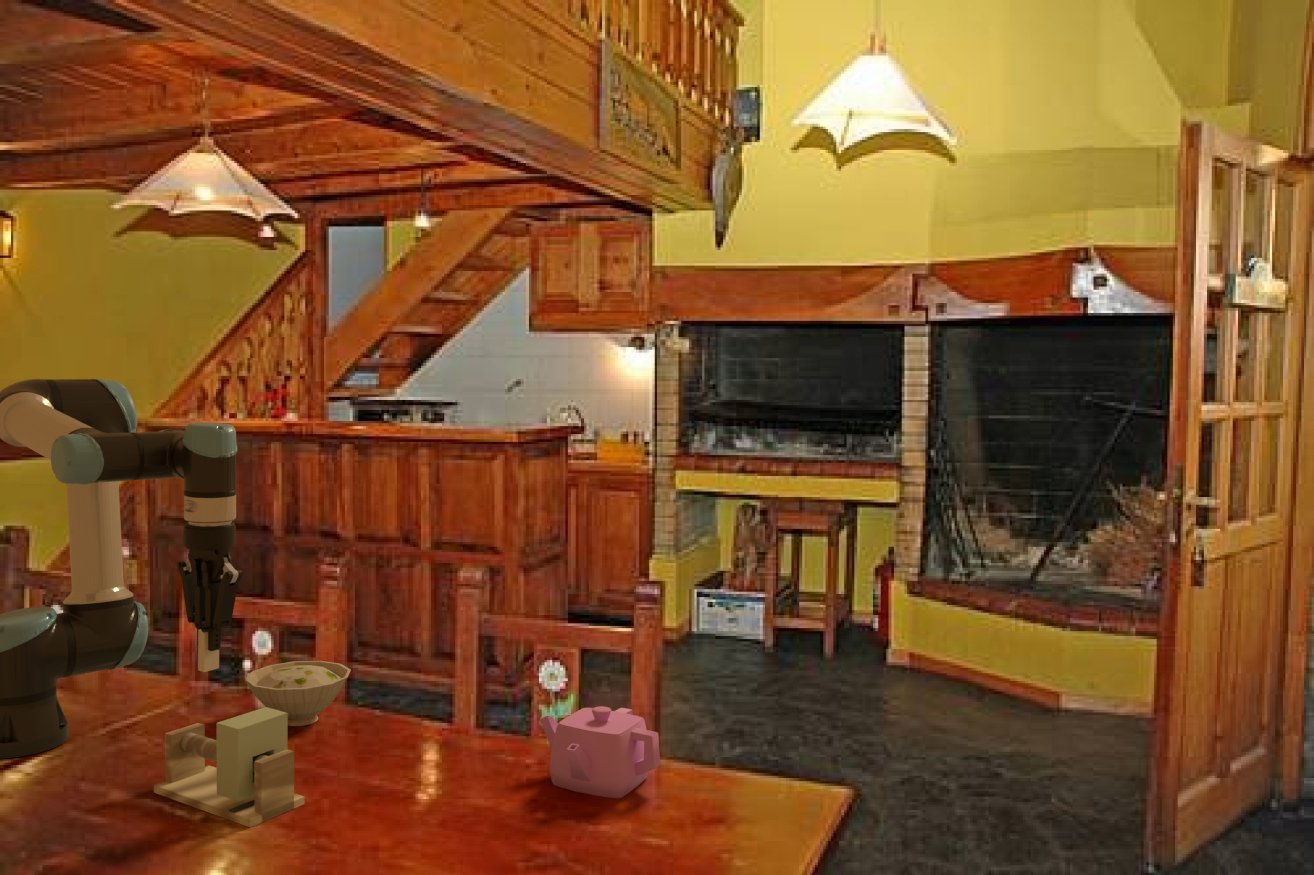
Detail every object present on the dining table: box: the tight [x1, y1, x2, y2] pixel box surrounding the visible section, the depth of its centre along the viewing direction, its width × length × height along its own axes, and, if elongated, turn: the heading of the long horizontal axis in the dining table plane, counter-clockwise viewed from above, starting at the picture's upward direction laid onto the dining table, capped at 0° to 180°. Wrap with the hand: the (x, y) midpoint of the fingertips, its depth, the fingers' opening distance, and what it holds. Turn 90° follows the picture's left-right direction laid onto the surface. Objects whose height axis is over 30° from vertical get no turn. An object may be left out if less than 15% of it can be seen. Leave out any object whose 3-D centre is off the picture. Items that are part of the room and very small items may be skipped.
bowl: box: [245, 660, 352, 727], centre depth 200 cm, size 19×19×10 cm
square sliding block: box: [216, 706, 288, 801], centre depth 160 cm, size 5×9×11 cm, turn 150°
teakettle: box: [539, 705, 661, 799], centre depth 174 cm, size 17×17×12 cm
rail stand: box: [153, 722, 305, 828], centre depth 164 cm, size 23×10×9 cm, turn 60°
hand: (208, 669), depth 165 cm, fingers closed
